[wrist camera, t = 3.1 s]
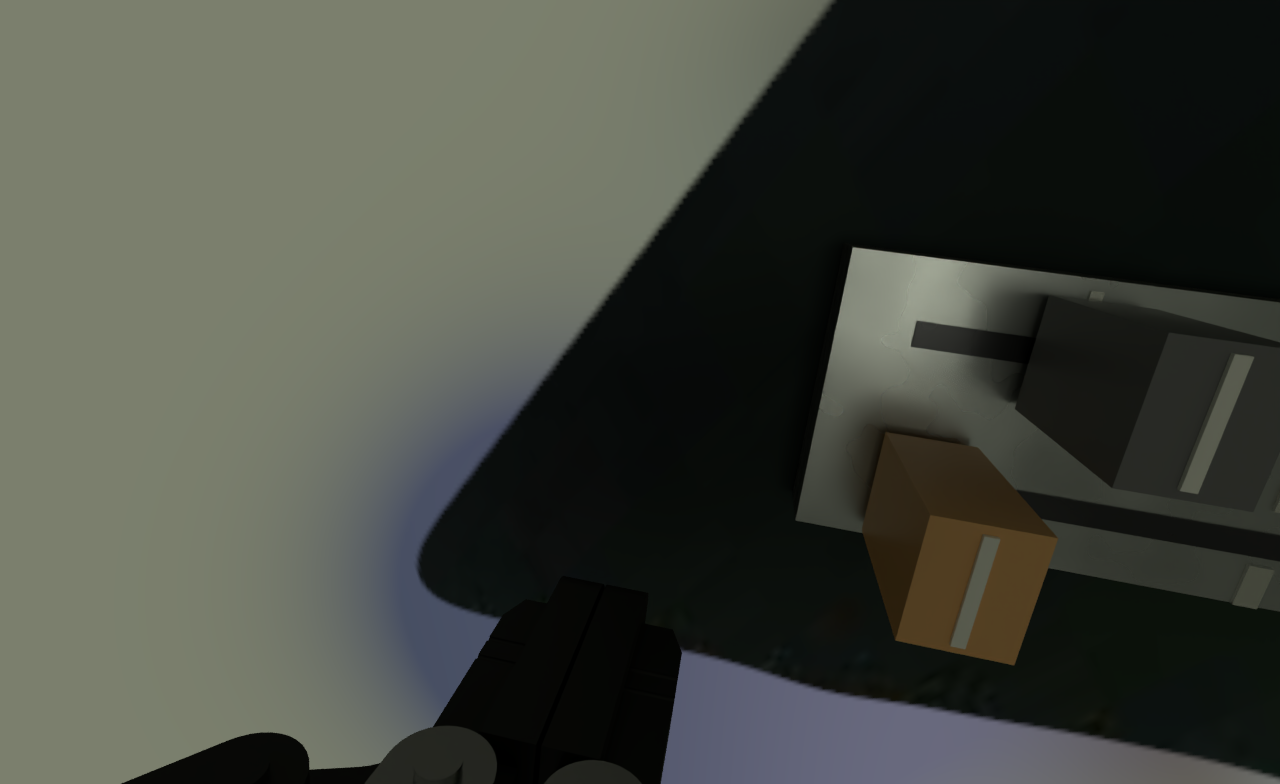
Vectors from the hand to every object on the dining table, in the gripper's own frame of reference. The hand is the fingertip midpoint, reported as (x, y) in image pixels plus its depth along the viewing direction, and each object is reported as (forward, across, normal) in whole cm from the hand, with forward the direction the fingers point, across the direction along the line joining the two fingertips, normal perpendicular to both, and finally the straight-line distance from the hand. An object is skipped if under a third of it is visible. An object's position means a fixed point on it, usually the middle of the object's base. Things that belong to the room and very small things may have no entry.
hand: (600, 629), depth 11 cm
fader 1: (+8, -7, 0) cm, 11 cm away
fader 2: (+8, -10, -4) cm, 14 cm away
